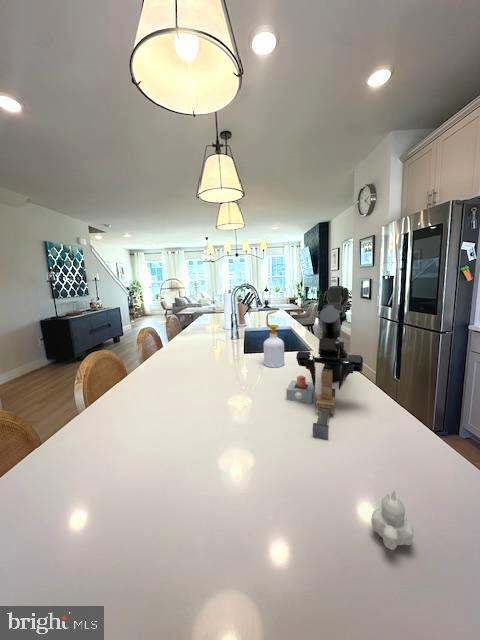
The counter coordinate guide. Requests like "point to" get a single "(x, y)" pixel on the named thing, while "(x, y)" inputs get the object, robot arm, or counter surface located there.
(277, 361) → the soap bottle
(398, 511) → the white animal figurine
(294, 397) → the box
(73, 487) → the counter surface
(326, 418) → the rail
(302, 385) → the button
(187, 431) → the counter surface
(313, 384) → the robot arm
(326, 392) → the wooden t-block
